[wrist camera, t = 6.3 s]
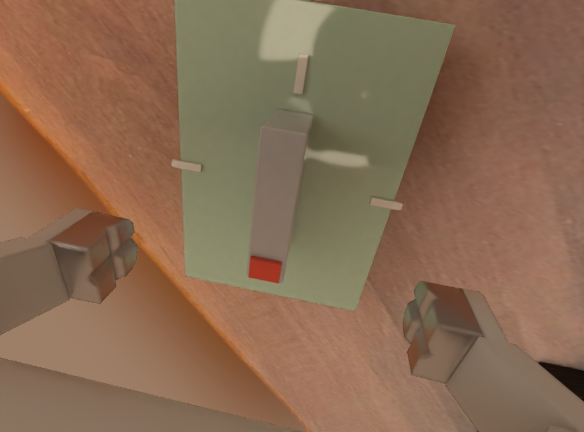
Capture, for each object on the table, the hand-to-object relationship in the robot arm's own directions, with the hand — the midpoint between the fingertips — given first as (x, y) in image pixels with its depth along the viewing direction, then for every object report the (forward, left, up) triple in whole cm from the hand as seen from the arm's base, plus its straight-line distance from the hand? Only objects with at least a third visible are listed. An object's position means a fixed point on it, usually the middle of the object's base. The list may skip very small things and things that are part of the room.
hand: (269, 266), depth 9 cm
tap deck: (0, -1, -9) cm, 9 cm away
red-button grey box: (0, -1, -6) cm, 6 cm away
